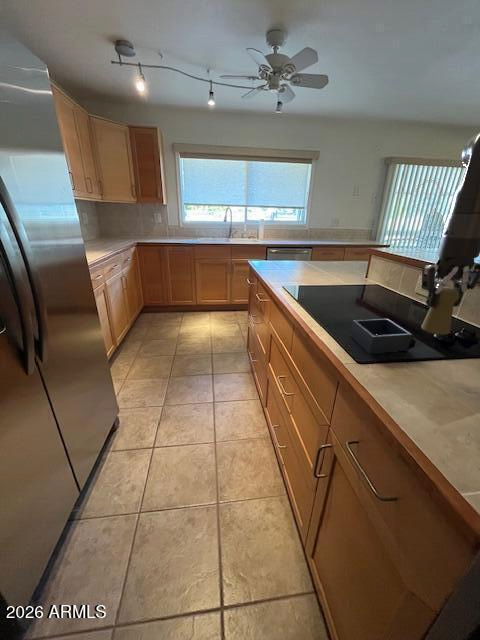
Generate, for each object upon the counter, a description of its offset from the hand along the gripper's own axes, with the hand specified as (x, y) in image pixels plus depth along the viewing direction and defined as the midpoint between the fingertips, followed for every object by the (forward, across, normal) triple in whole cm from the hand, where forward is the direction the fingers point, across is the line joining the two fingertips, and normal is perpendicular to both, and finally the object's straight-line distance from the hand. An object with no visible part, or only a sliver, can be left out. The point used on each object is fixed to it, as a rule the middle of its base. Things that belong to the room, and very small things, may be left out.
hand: (442, 305), depth 65 cm
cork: (+7, 0, 0) cm, 7 cm away
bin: (+16, -7, +11) cm, 21 cm away
